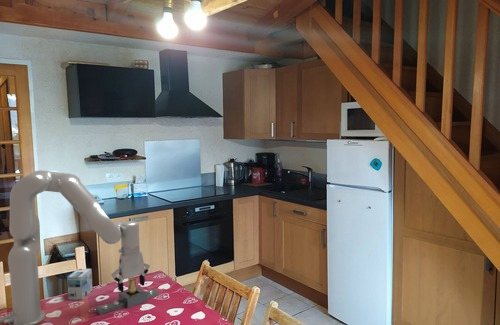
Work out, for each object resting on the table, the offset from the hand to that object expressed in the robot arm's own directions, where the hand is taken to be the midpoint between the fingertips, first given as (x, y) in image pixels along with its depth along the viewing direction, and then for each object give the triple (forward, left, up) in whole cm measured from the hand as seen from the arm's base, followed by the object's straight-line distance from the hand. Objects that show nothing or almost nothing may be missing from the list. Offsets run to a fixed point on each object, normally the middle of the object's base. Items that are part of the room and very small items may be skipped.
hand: (131, 287), depth 164 cm
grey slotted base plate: (-2, 0, -6) cm, 6 cm away
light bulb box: (-14, +24, -7) cm, 28 cm away
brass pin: (0, 0, -6) cm, 6 cm away
